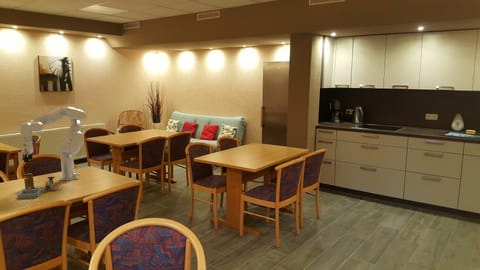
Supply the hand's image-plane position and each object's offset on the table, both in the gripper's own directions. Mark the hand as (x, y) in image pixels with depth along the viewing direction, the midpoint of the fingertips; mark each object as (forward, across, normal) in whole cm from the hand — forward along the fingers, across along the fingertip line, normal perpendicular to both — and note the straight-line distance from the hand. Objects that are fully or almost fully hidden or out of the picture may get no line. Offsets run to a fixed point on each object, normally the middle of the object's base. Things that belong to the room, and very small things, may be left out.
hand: (28, 160), depth 270 cm
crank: (+20, -3, -15) cm, 25 cm away
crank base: (+22, -8, -10) cm, 26 cm away
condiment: (+22, 0, 0) cm, 23 cm away
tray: (+22, -18, -4) cm, 29 cm away
